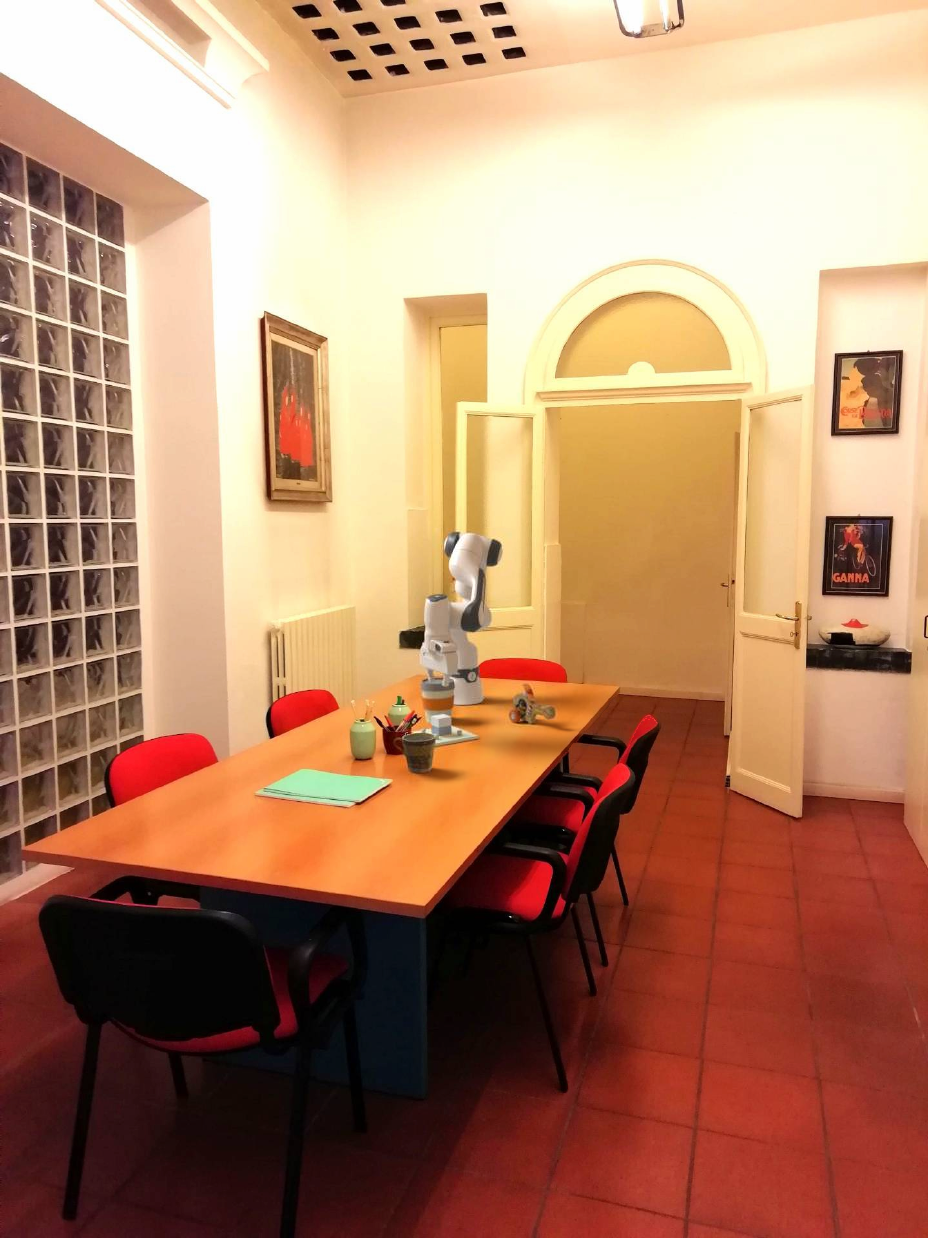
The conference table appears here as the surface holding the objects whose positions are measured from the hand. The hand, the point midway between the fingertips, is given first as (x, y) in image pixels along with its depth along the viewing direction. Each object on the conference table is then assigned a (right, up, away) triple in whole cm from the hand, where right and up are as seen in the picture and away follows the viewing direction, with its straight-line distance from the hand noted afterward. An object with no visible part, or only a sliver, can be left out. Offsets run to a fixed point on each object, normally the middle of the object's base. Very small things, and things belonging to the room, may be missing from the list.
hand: (438, 683), depth 295 cm
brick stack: (+1, -17, +2) cm, 17 cm away
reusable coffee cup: (-1, -16, +25) cm, 30 cm away
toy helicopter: (+33, -16, +18) cm, 41 cm away
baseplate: (+1, -18, +2) cm, 18 cm away
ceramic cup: (-6, -23, -35) cm, 42 cm away
